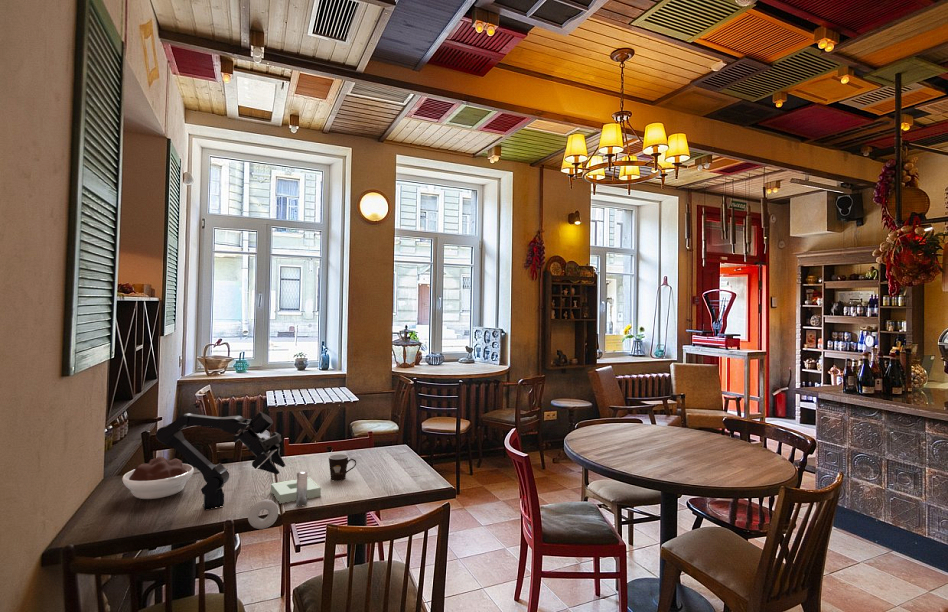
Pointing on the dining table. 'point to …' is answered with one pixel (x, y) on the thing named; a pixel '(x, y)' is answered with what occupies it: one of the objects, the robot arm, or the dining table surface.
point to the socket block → (293, 490)
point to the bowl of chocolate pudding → (158, 478)
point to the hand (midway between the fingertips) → (281, 469)
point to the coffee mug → (339, 466)
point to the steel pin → (301, 488)
